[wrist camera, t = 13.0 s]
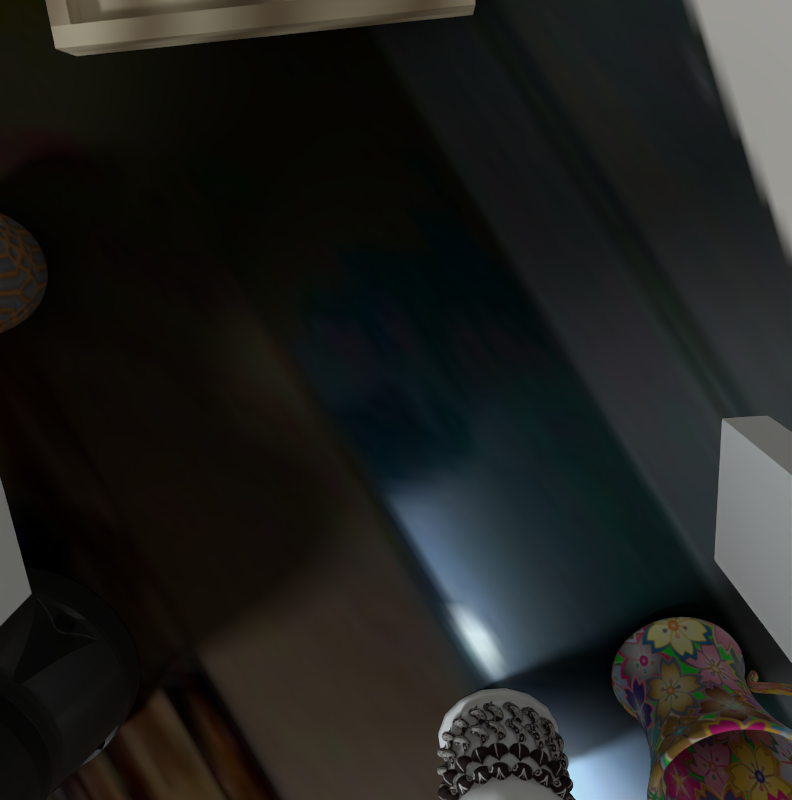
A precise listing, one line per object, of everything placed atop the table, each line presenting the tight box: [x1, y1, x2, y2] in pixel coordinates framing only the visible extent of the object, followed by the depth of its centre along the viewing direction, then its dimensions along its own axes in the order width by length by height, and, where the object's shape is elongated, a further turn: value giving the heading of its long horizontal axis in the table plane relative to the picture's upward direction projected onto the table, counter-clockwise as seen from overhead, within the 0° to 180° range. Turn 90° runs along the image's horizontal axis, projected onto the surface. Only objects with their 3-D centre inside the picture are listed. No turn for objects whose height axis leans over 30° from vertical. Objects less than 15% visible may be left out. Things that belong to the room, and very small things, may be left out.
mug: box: [612, 617, 792, 800], centre depth 42 cm, size 12×9×11 cm
